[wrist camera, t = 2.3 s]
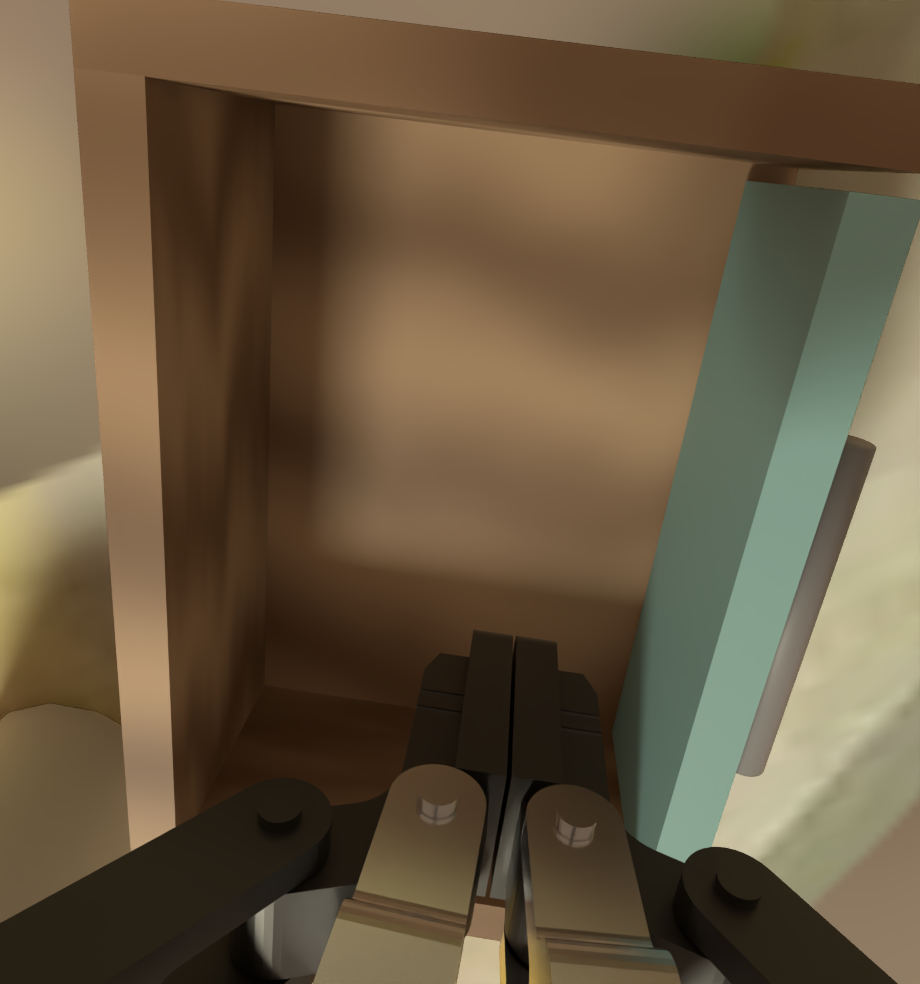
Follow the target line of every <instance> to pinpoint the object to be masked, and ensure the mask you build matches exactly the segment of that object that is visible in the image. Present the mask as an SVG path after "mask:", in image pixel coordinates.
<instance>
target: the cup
mask: <svg viewBox="0 0 920 984" xmlns="http://www.w3.org/2000/svg"><path fill="white" fill-rule="evenodd" d="M129 852H131V848H130V834H129V820H128V806H127V793H126V779H125V765H124V752H123V738H122V725H120V724H118V723H117V722H115V721H113V720H111V719H110V718H108V717H106V716H104V715H103V714H101V713H99V712H95V711H90V710H84V709H79V708H74V707H68V706H63V705H57V704H52V703H49V704H45V705H40V706H35V707H31V708H26V709H21V710H17V711H12V712H9V713H8V714H7V715H6V716H4V717H3V718H2V719H1V720H0V923H1V922H3V921H5V920H7V919H8V918H10V917H12V916H14V915H16V914H17V913H19V912H21V911H23V910H25V909H27V908H28V907H30V906H32V905H34V904H36V903H38V902H39V901H41V900H43V899H45V898H47V897H49V896H50V895H52V894H54V893H56V892H58V891H59V890H61V889H63V888H65V887H67V886H69V885H70V884H72V883H74V882H76V881H78V880H80V879H81V878H83V877H85V876H87V875H89V874H91V873H92V872H94V871H96V870H98V869H100V868H102V867H103V866H105V865H107V864H109V863H111V862H112V861H114V860H116V859H118V858H120V857H122V856H123V855H125V854H127V853H129Z"/></svg>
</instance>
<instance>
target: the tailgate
mask: <svg viewBox="0 0 920 984" xmlns="http://www.w3.org/2000/svg"><path fill="white" fill-rule="evenodd" d="M919 219H920V200H915V199H907V198H899V197H891V196H883V195H875V194H867V193H859V192H851V191H841V190H831V189H822V188H812V187H802V186H792V185H783V184H773V183H763V182H754V181H746V182H745V186H744V190H743V195H742V199H741V203H740V207H739V211H738V215H737V219H736V223H735V228H734V232H733V236H732V240H731V244H730V248H729V252H728V256H727V261H726V265H725V269H724V273H723V277H722V281H721V285H720V289H719V293H718V298H717V302H716V306H715V310H714V314H713V318H712V322H711V326H710V331H709V335H708V339H707V343H706V347H705V351H704V355H703V359H702V363H701V368H700V372H699V376H698V380H697V384H696V388H695V392H694V396H693V401H692V405H691V409H690V413H689V417H688V421H687V425H686V429H685V433H684V438H683V442H682V446H681V450H680V454H679V458H678V462H677V466H676V471H675V475H674V479H673V483H672V487H671V491H670V495H669V499H668V504H667V508H666V512H665V516H664V520H663V524H662V528H661V532H660V536H659V541H658V545H657V549H656V553H655V557H654V561H653V565H652V569H651V574H650V578H649V582H648V586H647V590H646V594H645V598H644V602H643V606H642V611H641V615H640V619H639V623H638V627H637V631H636V635H635V639H634V644H633V648H632V652H631V656H630V660H629V664H628V668H627V672H626V676H625V681H624V685H623V689H622V693H621V697H620V701H619V705H618V709H617V714H616V718H615V722H614V726H613V730H612V736H613V743H614V751H615V758H616V766H617V774H618V781H619V789H620V796H621V804H622V811H623V819H624V826H625V830H626V831H627V832H628V833H629V834H630V835H632V836H633V837H634V838H635V839H637V840H638V841H639V842H641V843H643V844H644V845H646V846H648V847H650V848H652V849H654V850H656V851H658V852H660V853H663V854H665V855H667V856H670V857H672V858H674V859H677V860H679V861H681V862H684V863H685V862H686V860H687V859H688V857H689V856H690V855H691V854H693V853H694V852H695V851H698V850H700V849H703V848H708V847H711V846H712V843H713V840H714V837H715V834H716V831H717V828H718V825H719V822H720V819H721V816H722V813H723V810H724V807H725V804H726V801H727V798H728V795H729V792H730V789H731V786H732V783H733V780H734V777H735V774H736V773H738V774H740V775H743V776H748V777H755V776H759V775H761V774H762V773H763V771H764V769H765V766H766V763H767V760H768V757H769V754H770V751H771V749H772V746H773V743H774V740H775V737H776V734H777V731H778V729H779V726H780V723H781V720H782V717H783V714H784V711H785V709H786V706H787V703H788V700H789V697H790V694H791V691H792V688H793V686H794V683H795V680H796V677H797V674H798V671H799V668H800V666H801V663H802V660H803V657H804V654H805V651H806V648H807V646H808V643H809V640H810V637H811V634H812V631H813V628H814V626H815V623H816V620H817V617H818V614H819V611H820V608H821V605H822V603H823V600H824V597H825V594H826V591H827V588H828V585H829V583H830V580H831V577H832V574H833V571H834V568H835V565H836V563H837V560H838V557H839V554H840V551H841V548H842V545H843V542H844V540H845V537H846V534H847V531H848V528H849V525H850V522H851V520H852V517H853V514H854V511H855V508H856V505H857V502H858V500H859V497H860V494H861V491H862V488H863V485H864V482H865V480H866V477H867V474H868V471H869V468H870V465H871V462H872V459H873V457H874V454H875V451H876V446H875V445H873V444H872V443H870V442H868V441H866V440H863V439H860V438H857V437H854V436H850V435H848V433H849V430H850V427H851V424H852V421H853V418H854V415H855V412H856V409H857V406H858V403H859V400H860V397H861V394H862V391H863V388H864V385H865V382H866V379H867V376H868V373H869V370H870V367H871V364H872V361H873V358H874V354H875V351H876V348H877V345H878V342H879V339H880V336H881V333H882V330H883V327H884V324H885V321H886V318H887V315H888V312H889V309H890V306H891V303H892V300H893V297H894V294H895V291H896V288H897V285H898V282H899V279H900V276H901V273H902V270H903V267H904V264H905V261H906V258H907V255H908V252H909V249H910V246H911V243H912V240H913V237H914V234H915V231H916V228H917V225H918V222H919Z"/></svg>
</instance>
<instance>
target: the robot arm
mask: <svg viewBox="0 0 920 984" xmlns="http://www.w3.org/2000/svg"><path fill="white" fill-rule="evenodd" d="M512 652H513V653H512ZM599 716H600V715H599V706H598V698H597V693H596V692H595V691H594V689H593V688H592V686H591V685H590V683H589V682H588V681H587V679H586V678H585V676H584V675H583V674H579V673H573V672H566V671H559V670H558V654H557V642H556V641H550V640H543V639H536V638H530V637H523V636H516V638H515V642H514V648H513V635H508V634H502V633H495V632H488V631H481V630H475V629H473V636H472V642H471V649H470V656H469V657H465V656H458V655H451V654H445V653H440V654H439V655H438V656H437V657H436V658H435V659H434V660H433V661H432V662H431V663H430V664H429V665H428V666H427V667H426V668H425V670H424V674H423V679H422V683H421V688H420V692H419V697H418V701H417V707H416V710H415V715H414V719H413V724H412V728H411V733H410V737H409V742H408V747H407V751H406V756H405V760H404V765H403V769H402V772H401V775H399V776H398V777H397V778H396V779H395V781H394V782H393V783H392V786H391V788H390V789H388V790H387V791H386V792H384V793H383V794H381V795H379V796H377V797H375V798H373V799H370V800H367V801H363V802H358V803H352V804H343V805H334V806H331V805H330V802H329V800H328V798H327V797H326V795H325V794H324V793H323V792H322V791H321V790H320V789H318V788H317V787H316V786H314V785H312V784H310V783H308V782H306V781H303V780H299V779H294V778H274V779H268V780H264V781H261V782H258V783H256V784H254V785H252V786H250V787H248V788H246V789H244V790H242V791H240V792H239V793H237V794H235V795H233V796H231V797H229V798H228V799H226V800H224V801H222V802H220V803H218V804H217V805H215V806H213V807H211V808H209V809H207V810H206V811H204V812H202V813H200V814H198V815H197V816H195V817H193V818H191V819H189V820H187V821H186V822H184V823H182V824H180V825H178V826H176V827H175V828H173V829H171V830H169V831H167V832H165V833H164V834H162V835H160V836H158V837H156V838H155V839H153V840H151V841H149V842H147V843H145V844H144V845H142V846H140V847H138V848H136V849H134V850H133V851H131V852H129V853H127V854H125V855H123V856H122V857H120V858H118V859H116V860H114V861H112V862H111V863H109V864H107V865H105V866H103V867H102V868H100V869H98V870H96V871H94V872H92V873H91V874H89V875H87V876H85V877H83V878H81V879H80V880H78V881H76V882H74V883H72V884H70V885H69V886H67V887H65V888H63V889H61V890H59V891H58V892H56V893H54V894H52V895H50V896H49V897H47V898H45V899H43V900H41V901H39V902H38V903H36V904H34V905H32V906H30V907H28V908H27V909H25V910H23V911H21V912H19V913H17V914H16V915H14V916H12V917H10V918H8V919H7V920H5V921H3V922H1V923H0V984H312V983H313V984H456V983H457V978H458V972H459V966H460V961H461V955H462V949H463V944H464V938H465V937H466V935H467V933H468V932H469V929H470V927H471V923H472V917H473V912H474V906H475V900H476V896H482V897H485V895H486V889H487V884H488V878H489V873H490V867H491V861H492V867H491V883H490V898H497V899H503V900H505V921H504V926H503V931H502V937H501V942H500V949H499V960H500V984H897V983H896V982H895V981H894V980H893V979H892V978H891V977H889V976H888V975H887V974H886V973H885V972H884V971H883V970H882V969H881V968H879V967H878V966H877V965H876V964H875V963H874V962H873V961H872V960H870V959H869V958H868V957H867V956H866V955H865V954H864V953H863V952H861V951H860V950H859V949H858V948H857V947H856V946H855V945H854V944H852V943H851V942H850V941H849V940H848V939H847V938H846V937H845V936H844V935H842V934H841V933H840V932H839V931H838V930H837V929H836V928H835V927H833V926H832V925H831V924H830V923H829V922H828V921H827V920H826V919H824V918H823V917H822V916H821V915H820V914H819V913H818V912H817V911H815V910H814V909H813V908H812V907H811V906H810V905H809V904H808V903H806V902H805V901H804V900H803V899H802V898H801V897H800V896H799V895H797V894H796V893H795V892H794V891H793V890H792V889H791V888H790V887H788V886H787V885H786V884H785V883H784V882H783V881H782V880H781V879H779V878H778V877H777V876H776V875H775V874H774V873H773V872H772V871H771V870H769V869H768V868H767V867H766V866H764V865H763V864H762V863H760V862H759V861H757V860H756V859H754V858H752V857H750V856H748V855H746V854H744V853H742V852H739V851H736V850H733V849H729V848H723V847H708V848H703V849H700V850H698V851H695V852H694V853H693V854H691V855H690V856H689V857H688V859H687V860H686V862H685V863H684V862H681V861H679V860H677V859H674V858H672V857H670V856H667V855H665V854H663V853H660V852H658V851H656V850H654V849H652V848H650V847H648V846H646V845H644V844H643V843H641V842H639V841H638V840H637V839H635V838H634V837H633V836H632V835H630V834H629V833H628V832H627V831H626V830H625V827H624V824H623V821H622V818H621V816H620V815H619V813H618V811H617V810H616V809H615V808H614V806H613V805H612V804H611V803H610V798H609V790H608V782H607V773H606V765H605V756H604V748H603V740H602V737H601V733H602V731H601V723H600V719H599Z"/></svg>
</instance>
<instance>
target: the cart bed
mask: <svg viewBox="0 0 920 984" xmlns="http://www.w3.org/2000/svg"><path fill="white" fill-rule="evenodd" d="M69 11H70V25H71V38H72V52H73V65H74V79H75V94H76V106H77V121H78V135H79V148H80V162H81V175H82V189H83V203H84V216H85V231H86V244H87V258H88V271H89V285H90V298H91V312H92V327H93V340H94V354H95V367H96V381H97V394H98V408H99V423H100V436H101V450H102V464H103V477H104V491H105V505H106V519H107V532H108V546H109V560H110V573H111V587H112V601H113V615H114V628H115V642H116V656H117V669H118V683H119V697H120V711H121V724H122V738H123V752H124V765H125V779H126V793H127V806H128V820H129V834H130V848H131V851H133V850H134V849H136V848H138V847H140V846H142V845H144V844H145V843H147V842H149V841H151V840H153V839H155V838H156V837H158V836H160V835H162V834H164V833H165V832H167V831H169V830H171V829H173V828H175V827H176V826H178V825H180V824H182V823H184V822H186V821H187V820H189V819H191V818H193V817H195V816H197V815H198V814H200V813H202V812H204V811H206V810H207V809H209V808H211V807H213V806H215V805H217V804H218V803H220V802H222V801H224V800H226V799H228V798H229V797H231V796H233V795H235V794H237V793H239V792H240V791H242V790H244V789H246V788H248V787H250V786H252V785H254V784H256V783H258V782H261V781H264V780H268V779H274V778H294V779H299V780H303V781H306V782H308V783H310V784H312V785H314V786H316V787H317V788H318V789H320V790H321V791H322V792H323V793H324V794H325V795H326V797H327V798H328V800H329V802H330V805H331V806H334V805H343V804H352V803H358V802H363V801H367V800H370V799H373V798H375V797H377V796H379V795H381V794H383V793H384V792H386V791H387V790H388V789H390V788H391V786H392V783H393V782H394V781H395V779H396V778H397V777H398V776H399V775H401V772H402V769H403V765H404V760H405V756H406V751H407V747H408V742H409V737H410V733H411V728H412V724H413V719H414V715H415V710H416V707H417V701H418V697H419V692H420V688H421V683H422V679H423V674H424V670H425V668H426V667H427V666H428V665H429V664H430V663H431V662H432V661H433V660H434V659H435V658H436V657H437V656H438V655H439V654H440V653H445V654H451V655H458V656H465V657H469V656H470V649H471V642H472V636H473V629H475V630H481V631H488V632H495V633H502V634H508V635H513V648H514V642H515V638H516V636H523V637H530V638H536V639H543V640H550V641H556V642H557V654H558V670H559V671H566V672H573V673H579V674H583V675H584V676H585V678H586V679H587V681H588V682H589V683H590V685H591V686H592V688H593V689H594V691H595V692H596V693H597V698H598V706H599V715H600V716H599V719H600V723H601V731H602V733H601V737H602V740H603V748H604V756H605V765H606V773H607V782H608V790H609V798H610V803H611V804H612V805H613V806H614V808H615V809H616V810H617V811H618V813H619V815H620V816H621V818H622V821H623V824H624V819H623V811H622V804H621V796H620V789H619V781H618V774H617V766H616V758H615V751H614V743H613V736H612V730H613V726H614V722H615V718H616V714H617V709H618V705H619V701H620V697H621V693H622V689H623V685H624V681H625V676H626V672H627V668H628V664H629V660H630V656H631V652H632V648H633V644H634V639H635V635H636V631H637V627H638V623H639V619H640V615H641V611H642V606H643V602H644V598H645V594H646V590H647V586H648V582H649V578H650V574H651V569H652V565H653V561H654V557H655V553H656V549H657V545H658V541H659V536H660V532H661V528H662V524H663V520H664V516H665V512H666V508H667V504H668V499H669V495H670V491H671V487H672V483H673V479H674V475H675V471H676V466H677V462H678V458H679V454H680V450H681V446H682V442H683V438H684V433H685V429H686V425H687V421H688V417H689V413H690V409H691V405H692V401H693V396H694V392H695V388H696V384H697V380H698V376H699V372H700V368H701V363H702V359H703V355H704V351H705V347H706V343H707V339H708V335H709V331H710V326H711V322H712V318H713V314H714V310H715V306H716V302H717V298H718V293H719V289H720V285H721V281H722V277H723V273H724V269H725V265H726V261H727V256H728V252H729V248H730V244H731V240H732V236H733V232H734V228H735V223H736V219H737V215H738V211H739V207H740V203H741V199H742V195H743V190H744V186H745V182H746V181H754V182H763V183H773V184H783V185H792V186H794V183H795V179H796V176H797V172H798V169H812V170H839V171H866V172H892V173H919V174H920V84H913V83H905V82H896V81H888V80H880V79H871V78H863V77H855V76H846V75H838V74H829V73H821V72H813V71H804V70H796V69H788V68H779V67H771V66H763V65H754V64H746V63H738V62H729V61H721V60H713V59H704V58H696V57H688V56H679V55H671V54H662V53H653V52H646V51H637V50H629V49H620V48H612V47H604V46H595V45H587V44H579V43H571V42H562V41H554V40H546V39H537V38H528V37H521V36H512V35H503V34H495V33H487V32H479V31H470V30H462V29H454V28H445V27H437V26H428V25H420V24H412V23H404V22H395V21H387V20H378V19H370V18H362V17H354V16H345V15H337V14H328V13H320V12H312V11H303V10H295V9H287V8H278V7H269V6H262V5H252V4H244V3H237V2H228V1H220V0H69ZM512 653H513V652H512ZM624 827H625V826H624ZM491 867H492V861H491ZM491 867H490V873H489V878H488V884H487V889H486V895H485V897H482V896H476V900H475V906H474V912H473V917H472V923H471V927H470V929H469V932H468V933H467V935H466V936H472V937H478V938H484V939H490V940H496V941H501V937H502V931H503V926H504V921H505V900H503V899H497V898H490V883H491Z"/></svg>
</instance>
